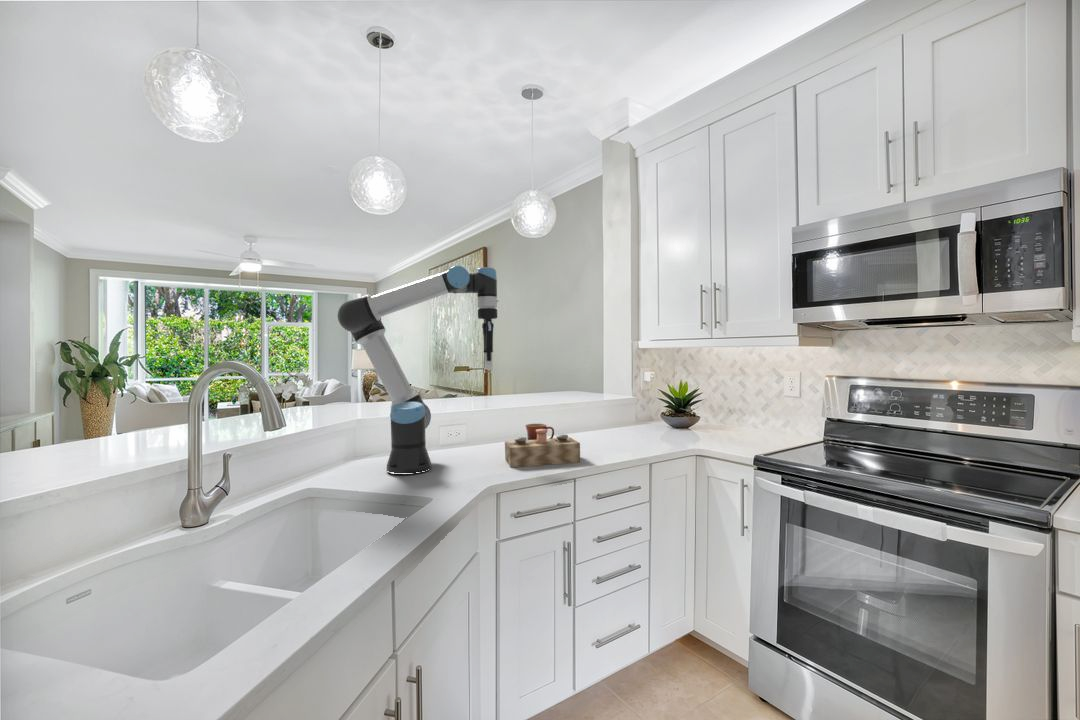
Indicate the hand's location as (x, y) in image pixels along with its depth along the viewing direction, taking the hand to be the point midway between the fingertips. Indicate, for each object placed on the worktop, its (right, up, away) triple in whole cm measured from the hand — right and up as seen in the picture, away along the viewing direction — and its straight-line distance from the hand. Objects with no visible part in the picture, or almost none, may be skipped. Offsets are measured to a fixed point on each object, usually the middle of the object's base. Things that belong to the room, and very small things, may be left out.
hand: (488, 369), depth 181 cm
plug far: (+28, -34, -4) cm, 44 cm away
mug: (+20, -34, +14) cm, 42 cm away
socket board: (+21, -34, -6) cm, 40 cm away
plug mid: (+21, -31, -6) cm, 38 cm away
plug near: (+13, -34, -8) cm, 37 cm away
